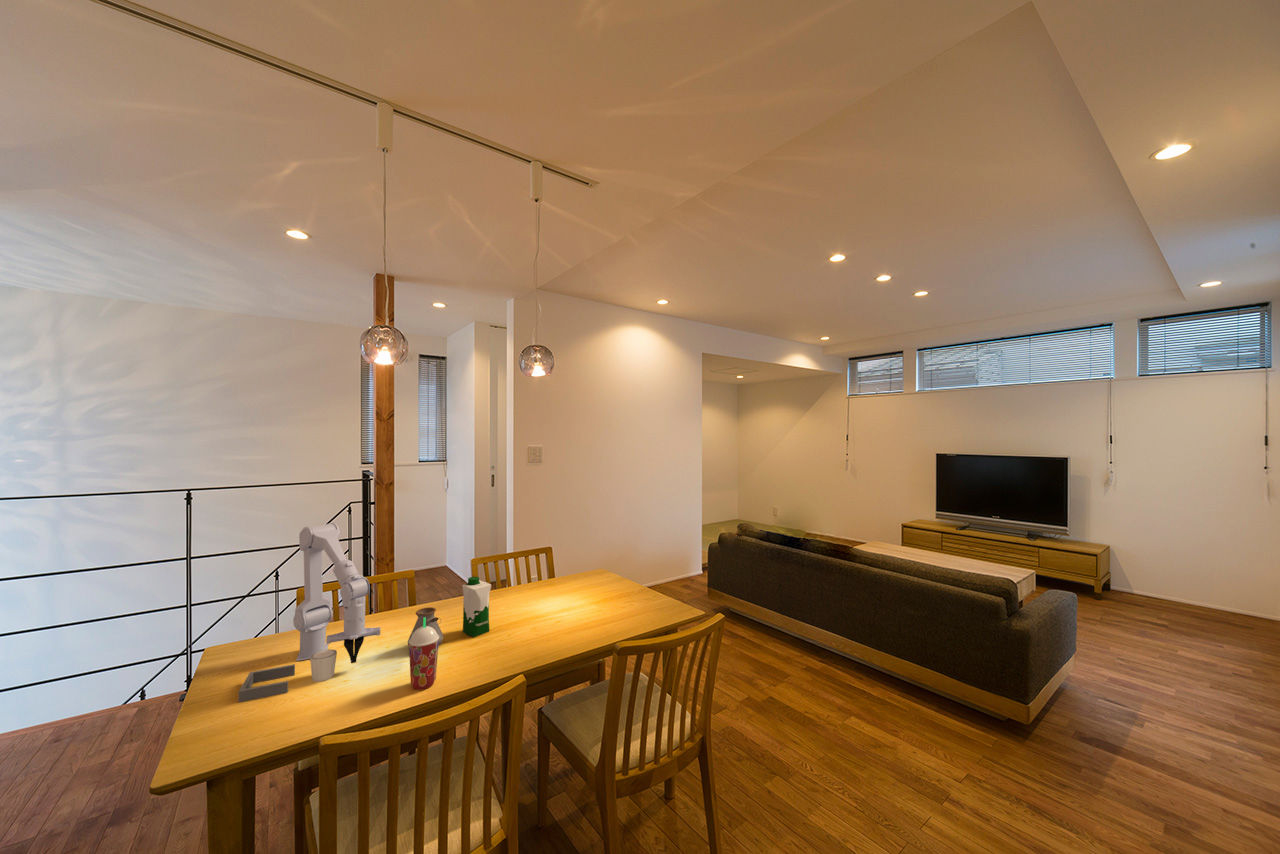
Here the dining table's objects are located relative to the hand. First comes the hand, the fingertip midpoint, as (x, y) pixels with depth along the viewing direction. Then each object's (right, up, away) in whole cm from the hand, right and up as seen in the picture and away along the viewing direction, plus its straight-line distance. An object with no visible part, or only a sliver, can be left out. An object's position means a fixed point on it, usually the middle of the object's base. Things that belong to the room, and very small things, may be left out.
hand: (353, 661), depth 148 cm
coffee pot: (+18, -4, +13) cm, 22 cm away
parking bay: (-19, -3, -10) cm, 21 cm away
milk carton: (+28, -4, +30) cm, 41 cm away
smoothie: (+26, -3, -8) cm, 27 cm away
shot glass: (-7, -3, -4) cm, 9 cm away
